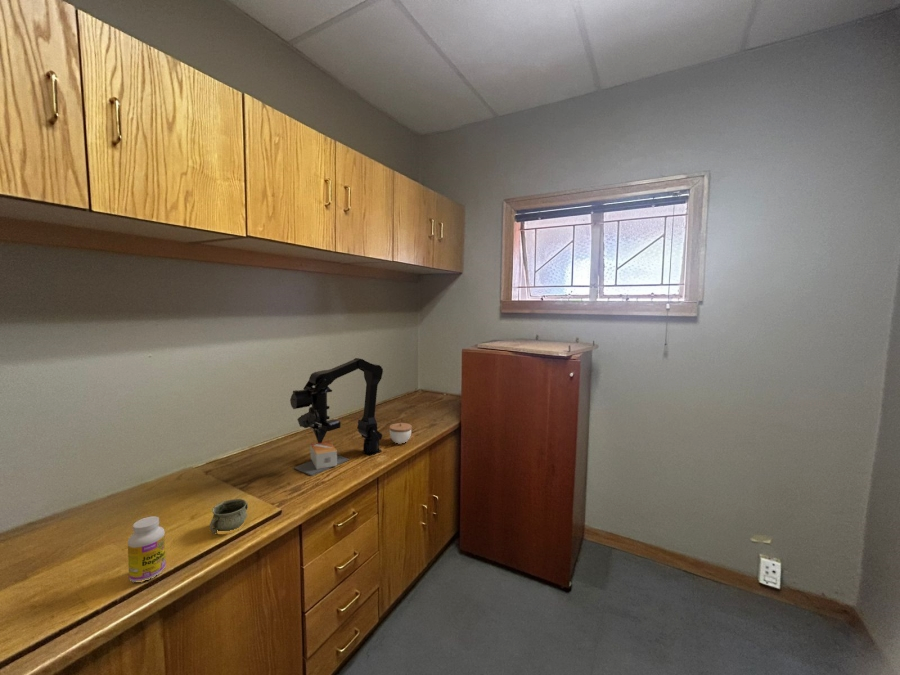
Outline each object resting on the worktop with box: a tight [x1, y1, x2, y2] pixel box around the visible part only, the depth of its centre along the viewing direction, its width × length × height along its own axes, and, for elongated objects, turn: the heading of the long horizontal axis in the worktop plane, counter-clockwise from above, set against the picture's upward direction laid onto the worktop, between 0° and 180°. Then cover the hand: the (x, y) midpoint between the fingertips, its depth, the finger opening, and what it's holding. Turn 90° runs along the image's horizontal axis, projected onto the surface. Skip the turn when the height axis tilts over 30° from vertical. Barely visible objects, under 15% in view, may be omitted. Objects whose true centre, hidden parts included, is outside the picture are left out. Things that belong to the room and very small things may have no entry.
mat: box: [294, 454, 350, 477], centre depth 146 cm, size 18×11×1 cm, turn 146°
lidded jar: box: [389, 422, 413, 445], centre depth 172 cm, size 11×11×9 cm
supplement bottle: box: [127, 516, 166, 583], centre depth 84 cm, size 7×7×13 cm
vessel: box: [209, 498, 249, 535], centre depth 103 cm, size 12×9×6 cm
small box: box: [310, 440, 338, 469], centre depth 147 cm, size 8×6×13 cm
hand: (319, 442), depth 141 cm, fingers closed
